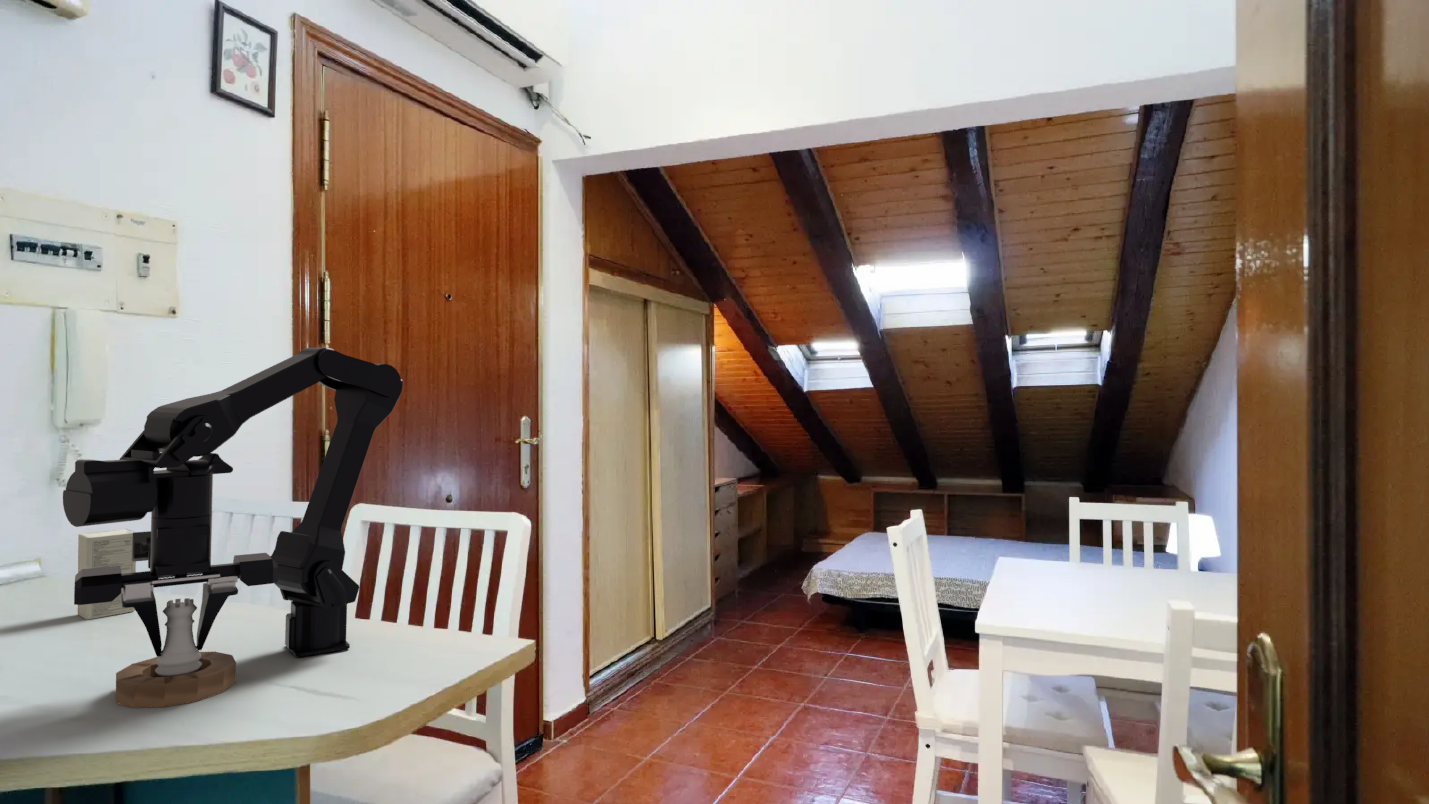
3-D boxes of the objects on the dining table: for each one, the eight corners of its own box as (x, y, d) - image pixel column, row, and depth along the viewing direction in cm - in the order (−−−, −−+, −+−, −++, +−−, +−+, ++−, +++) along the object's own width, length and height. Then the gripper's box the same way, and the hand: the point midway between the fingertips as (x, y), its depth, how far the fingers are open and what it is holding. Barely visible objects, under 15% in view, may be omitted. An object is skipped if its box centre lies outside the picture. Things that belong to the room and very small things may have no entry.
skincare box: (125, 606, 121) (128, 528, 121) (136, 612, 119) (138, 531, 119) (75, 615, 116) (77, 533, 116) (84, 620, 114) (87, 536, 113)
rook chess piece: (177, 680, 86) (179, 607, 86) (144, 676, 87) (145, 604, 87) (211, 666, 91) (213, 597, 91) (179, 663, 92) (181, 594, 92)
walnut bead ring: (227, 665, 97) (227, 646, 97) (240, 693, 88) (240, 671, 88) (114, 683, 90) (115, 662, 90) (117, 715, 81) (117, 692, 81)
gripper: (263, 501, 101) (261, 622, 101) (77, 511, 89) (74, 648, 90) (279, 512, 92) (276, 645, 92) (75, 525, 81) (72, 677, 81)
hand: (179, 652), depth 89 cm, fingers closed on rook chess piece, 3 cm apart
